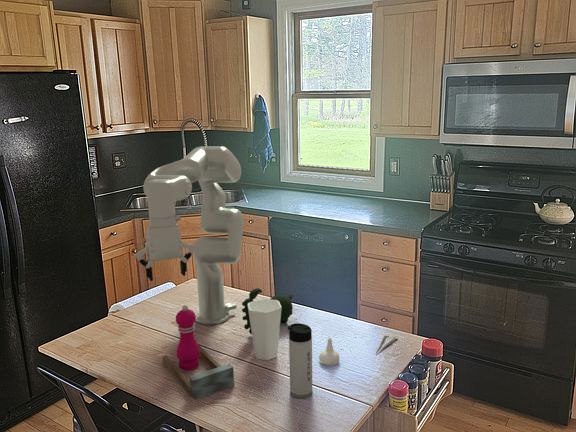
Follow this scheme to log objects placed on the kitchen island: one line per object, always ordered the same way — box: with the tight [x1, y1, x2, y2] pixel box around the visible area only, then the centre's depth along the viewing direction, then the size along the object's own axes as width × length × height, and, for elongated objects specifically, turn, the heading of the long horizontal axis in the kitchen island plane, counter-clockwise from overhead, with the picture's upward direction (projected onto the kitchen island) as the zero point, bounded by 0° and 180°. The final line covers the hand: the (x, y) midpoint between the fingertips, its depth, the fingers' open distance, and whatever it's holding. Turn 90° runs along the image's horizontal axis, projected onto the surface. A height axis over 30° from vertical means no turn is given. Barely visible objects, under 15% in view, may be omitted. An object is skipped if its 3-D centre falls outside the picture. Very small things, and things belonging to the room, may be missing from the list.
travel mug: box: [286, 322, 313, 399], centre depth 140 cm, size 6×7×20 cm
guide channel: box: [162, 344, 235, 401], centre depth 153 cm, size 12×24×6 cm, turn 33°
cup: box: [247, 298, 282, 361], centre depth 162 cm, size 11×10×17 cm
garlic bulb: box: [318, 337, 340, 367], centre depth 158 cm, size 6×6×8 cm
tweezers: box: [375, 334, 398, 356], centre depth 167 cm, size 17×5×2 cm, turn 148°
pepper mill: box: [175, 304, 200, 371], centre depth 156 cm, size 7×7×20 cm
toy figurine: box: [241, 287, 293, 335], centre depth 180 cm, size 9×19×25 cm
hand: (167, 276), depth 153 cm, fingers open, 9 cm apart
